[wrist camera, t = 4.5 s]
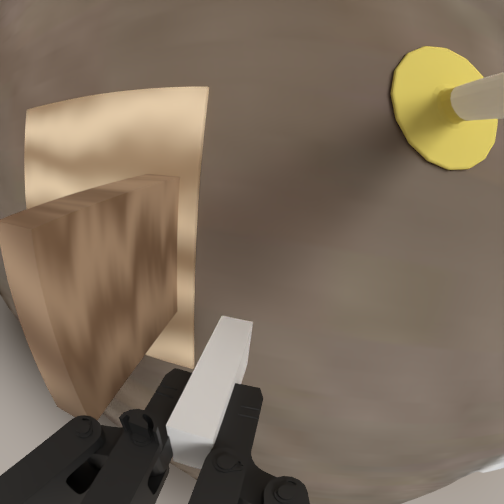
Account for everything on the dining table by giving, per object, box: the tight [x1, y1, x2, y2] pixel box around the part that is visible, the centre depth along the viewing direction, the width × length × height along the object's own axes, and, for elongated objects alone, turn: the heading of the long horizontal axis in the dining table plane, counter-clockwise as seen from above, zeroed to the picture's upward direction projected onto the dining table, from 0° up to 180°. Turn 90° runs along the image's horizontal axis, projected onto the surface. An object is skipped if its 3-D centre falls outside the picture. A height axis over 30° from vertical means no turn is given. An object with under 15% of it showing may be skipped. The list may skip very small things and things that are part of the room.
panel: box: [0, 174, 180, 420], centre depth 17 cm, size 12×3×14 cm, turn 174°
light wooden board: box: [25, 87, 209, 369], centre depth 25 cm, size 26×22×1 cm
